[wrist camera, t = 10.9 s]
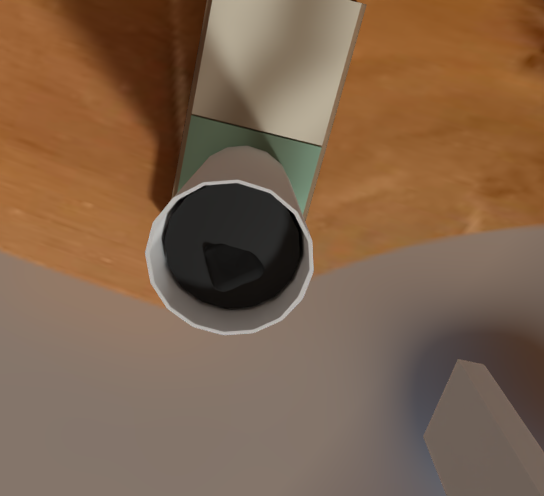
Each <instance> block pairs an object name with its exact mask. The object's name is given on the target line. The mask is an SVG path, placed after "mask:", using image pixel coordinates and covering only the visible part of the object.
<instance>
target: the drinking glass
mask: <svg viewBox="0 0 544 496" xmlns="http://www.w3.org/2000/svg"><path fill="white" fill-rule="evenodd" d="M145 255H146V261H147V266H148V272H149V277H150V283H151V284H152V286H153V288H154V289H155V291H156V292H157V294H158V295H159V297H160V298H161V300H162V301H163V303H164V304H165V306H166V307H167V309H168V310H170V311H171V312H173V313H174V314H176V315H177V316H178V317H180V318H181V319H183V320H184V321H185V322H187V323H188V324H190V325H191V326H192V327H196V328H199V329H202V330H206V331H210V332H213V333H217V334H221V335H233V334H247V333H255V332H257V331H259V330H262V329H264V328H266V327H268V326H271V325H273V324H275V323H277V322H279V321H282V320H283V319H284V318H285V317H286V316H287V315H288V314H289V313H290V312H291V311H292V310H293V308H295V306H296V305H297V304H298V303H299V302H300V301H301V300H302V299H303V297H304V295H305V292H306V289H307V287H308V284H309V282H310V279H311V277H312V274H313V272H314V267H313V247H312V239H311V236H310V233H309V231H308V228H307V225H306V223H305V220H304V217H303V215H302V212H301V209H300V207H299V204H298V201H297V199H296V196H295V193H294V191H293V188H292V185H291V182H290V180H289V178H288V176H287V174H286V172H285V170H284V168H283V166H282V165H281V164H280V163H279V162H278V161H277V160H276V159H274V158H273V157H272V156H271V155H270V154H269V153H267V152H266V151H262V150H259V149H256V148H253V147H250V146H235V147H227V148H225V149H223V150H221V151H219V152H217V153H215V154H213V155H211V156H209V158H208V159H207V160H206V161H205V162H204V163H203V165H202V166H201V167H200V168H199V169H198V170H197V171H196V172H195V174H194V175H193V176H192V177H191V178H190V179H189V180H188V181H187V183H186V184H185V185H184V186H183V187H182V188H181V189H180V190H179V192H178V193H177V194H176V195H175V196H174V197H173V198H172V200H171V201H170V202H169V203H168V205H167V206H166V207H165V208H164V209H163V211H162V212H161V213H160V214H159V216H158V217H157V218H156V219H155V221H154V222H153V224H152V228H151V232H150V235H149V239H148V243H147V247H146V251H145Z"/></svg>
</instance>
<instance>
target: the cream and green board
mask: <svg viewBox="0 0 544 496" xmlns="http://www.w3.org/2000/svg"><path fill="white" fill-rule="evenodd" d="M365 8H366V4H363V3H359V2H355V1H352V0H207V3H206V9H205V14H204V20H203V26H202V31H201V37H200V42H199V48H198V53H197V59H196V65H195V70H194V76H193V81H192V87H191V93H190V98H189V104H188V109H187V115H186V121H185V126H184V132H183V137H182V143H181V148H180V154H179V160H178V165H177V171H176V176H175V182H174V188H173V193H172V198H173V197H174V196H175V195H176V194H177V193H178V192H179V190H180V189H181V188H182V187H183V186H184V185H185V184H186V183H187V181H188V180H189V179H190V178H191V177H192V176H193V175H194V174H195V172H196V171H197V170H198V169H199V168H200V167H201V166H202V165H203V163H204V162H205V161H206V160H207V159H208V158H209V156H211V155H213V154H215V153H217V152H219V151H221V150H223V149H225V148H227V147H235V146H250V147H253V148H256V149H259V150H262V151H266V152H267V153H269V154H270V155H271V156H272V157H273V158H274V159H276V160H277V161H278V162H279V163H280V164H281V165H282V166H283V168H284V170H285V172H286V174H287V176H288V178H289V180H290V182H291V185H292V188H293V191H294V193H295V196H296V199H297V201H298V204H299V207H300V209H301V212H302V215H303V217H304V220H305V221H306V218H307V214H308V211H309V207H310V204H311V200H312V196H313V193H314V189H315V186H316V182H317V179H318V175H319V172H320V168H321V164H322V161H323V157H324V154H325V150H326V147H327V143H328V140H329V136H330V133H331V129H332V125H333V122H334V118H335V115H336V111H337V108H338V104H339V101H340V97H341V94H342V90H343V86H344V83H345V79H346V76H347V72H348V69H349V65H350V62H351V58H352V55H353V51H354V47H355V44H356V40H357V37H358V33H359V30H360V26H361V23H362V19H363V15H364V12H365ZM171 200H172V199H171Z"/></svg>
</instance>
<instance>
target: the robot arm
mask: <svg viewBox="0 0 544 496" xmlns="http://www.w3.org/2000/svg"><path fill="white" fill-rule="evenodd" d="M423 438H424V440H425V442H426V445H427V448H428V450H429V452H430V455H431V458H432V460H433V463H434V465H435V468H436V470H437V473H438V475H439V478H440V480H441V483H442V485H443V488H444V490H445V493H446V495H447V496H544V452H543V450H542V449H541V448H540V446H539V445H538V443H537V442H536V440H535V439H534V438H533V436H532V434H531V433H530V431H529V430H528V428H527V427H526V425H525V424H524V423H523V421H522V420H521V418H520V417H519V415H518V414H517V412H516V411H515V409H514V408H513V406H512V405H511V403H510V402H509V400H508V399H507V398H506V396H505V395H504V393H503V392H502V390H501V389H500V387H499V386H498V384H497V383H496V381H495V380H494V378H493V377H492V376H491V374H490V373H489V371H488V370H487V368H486V367H485V365H483V364H478V363H474V362H469V361H465V360H460V359H458V360H457V363H456V365H455V367H454V369H453V371H452V374H451V376H450V378H449V380H448V383H447V385H446V387H445V389H444V391H443V394H442V396H441V398H440V400H439V403H438V405H437V407H436V409H435V412H434V414H433V416H432V418H431V420H430V423H429V425H428V427H427V429H426V432H425V434H424V436H423Z"/></svg>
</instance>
